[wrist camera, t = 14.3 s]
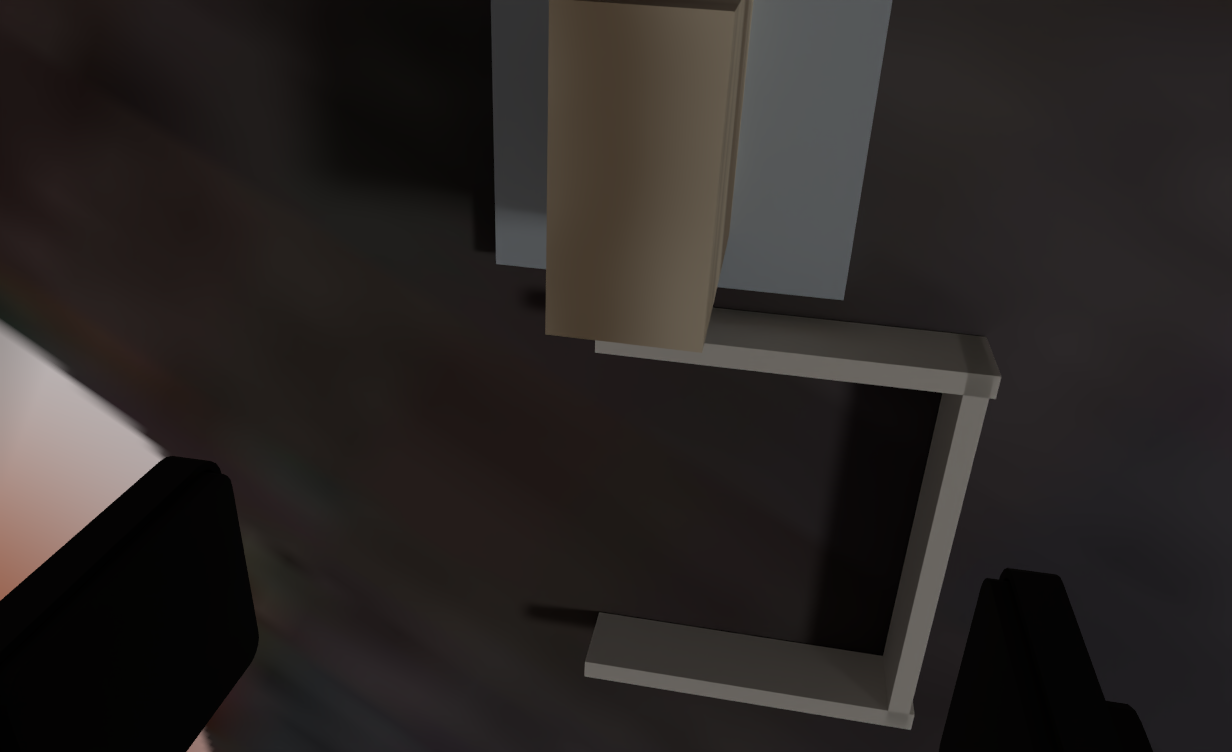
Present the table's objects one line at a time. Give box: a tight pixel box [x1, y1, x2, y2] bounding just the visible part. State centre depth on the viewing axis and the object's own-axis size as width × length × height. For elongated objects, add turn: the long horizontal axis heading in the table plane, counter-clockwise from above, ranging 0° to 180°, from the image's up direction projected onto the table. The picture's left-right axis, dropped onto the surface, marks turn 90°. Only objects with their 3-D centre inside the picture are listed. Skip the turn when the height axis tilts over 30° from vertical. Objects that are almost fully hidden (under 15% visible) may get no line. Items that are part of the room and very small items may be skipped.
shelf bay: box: [585, 307, 1001, 730], centre depth 36 cm, size 16×13×3 cm
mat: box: [491, 0, 892, 300], centre depth 30 cm, size 12×12×1 cm
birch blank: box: [545, 0, 754, 353], centre depth 26 cm, size 4×8×9 cm, turn 177°
